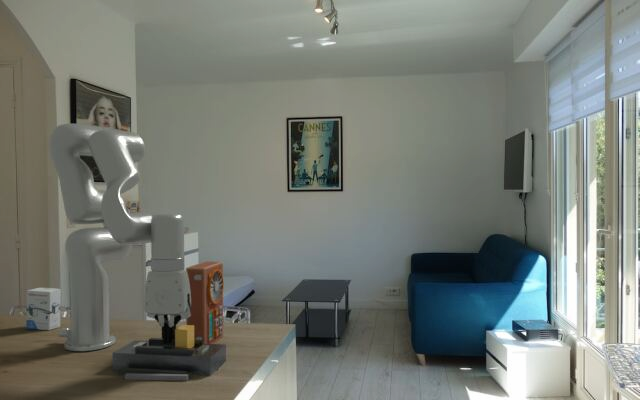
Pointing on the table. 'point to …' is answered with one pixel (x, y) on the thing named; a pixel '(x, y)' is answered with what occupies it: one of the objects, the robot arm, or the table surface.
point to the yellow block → (184, 336)
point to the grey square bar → (156, 376)
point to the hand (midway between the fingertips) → (169, 342)
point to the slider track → (171, 356)
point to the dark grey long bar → (148, 371)
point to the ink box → (43, 308)
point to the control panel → (206, 300)
